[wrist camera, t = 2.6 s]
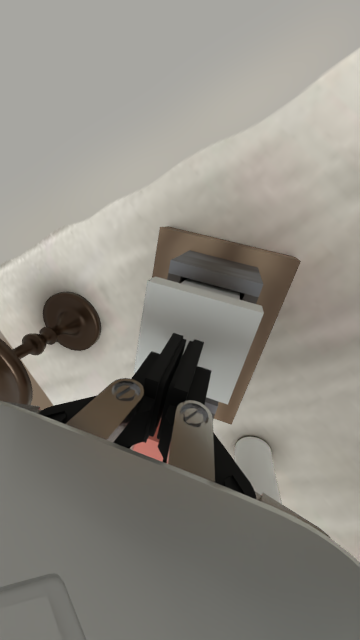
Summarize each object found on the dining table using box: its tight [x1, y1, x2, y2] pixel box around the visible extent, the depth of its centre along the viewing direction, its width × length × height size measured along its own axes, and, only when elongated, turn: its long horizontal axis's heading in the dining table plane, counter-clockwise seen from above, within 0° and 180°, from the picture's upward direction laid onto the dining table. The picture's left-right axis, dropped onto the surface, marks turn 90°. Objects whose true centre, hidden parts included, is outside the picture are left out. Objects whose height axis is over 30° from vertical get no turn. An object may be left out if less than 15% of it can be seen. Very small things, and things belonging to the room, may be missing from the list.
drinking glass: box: [234, 437, 282, 504], centre depth 29 cm, size 7×7×15 cm
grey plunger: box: [134, 277, 264, 405], centre depth 17 cm, size 6×6×8 cm
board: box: [152, 227, 301, 424], centre depth 26 cm, size 14×22×10 cm, turn 168°
